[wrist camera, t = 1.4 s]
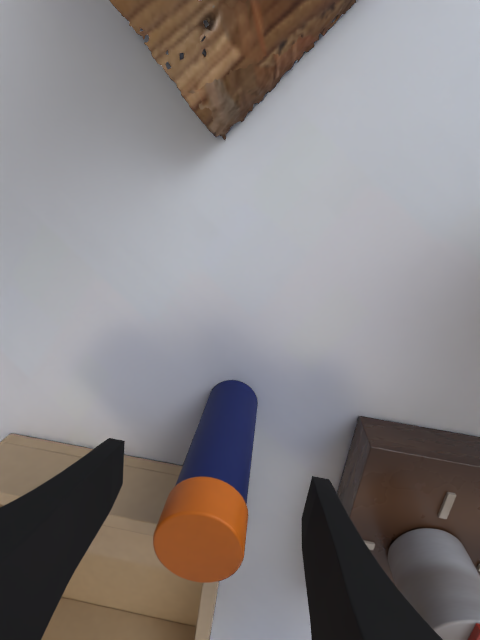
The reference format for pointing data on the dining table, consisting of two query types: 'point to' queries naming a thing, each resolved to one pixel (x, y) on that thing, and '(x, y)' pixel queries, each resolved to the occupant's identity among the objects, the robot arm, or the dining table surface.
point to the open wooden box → (115, 553)
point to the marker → (211, 491)
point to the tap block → (411, 485)
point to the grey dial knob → (438, 581)
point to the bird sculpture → (229, 47)
